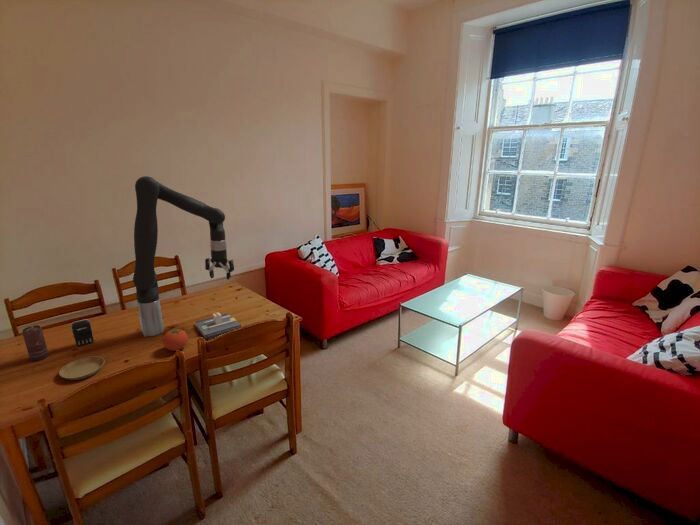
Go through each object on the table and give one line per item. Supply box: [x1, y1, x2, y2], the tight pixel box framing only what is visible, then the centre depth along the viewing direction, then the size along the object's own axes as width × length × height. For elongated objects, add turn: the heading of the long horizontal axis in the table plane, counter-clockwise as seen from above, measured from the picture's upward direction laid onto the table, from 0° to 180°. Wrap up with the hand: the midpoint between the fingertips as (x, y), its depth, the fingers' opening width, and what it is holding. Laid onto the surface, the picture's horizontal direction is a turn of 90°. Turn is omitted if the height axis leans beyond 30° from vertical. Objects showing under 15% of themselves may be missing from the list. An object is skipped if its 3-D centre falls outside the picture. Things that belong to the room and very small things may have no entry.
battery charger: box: [71, 318, 95, 347], centre depth 159 cm, size 7×4×11 cm, turn 130°
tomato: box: [162, 328, 189, 352], centre depth 157 cm, size 10×10×10 cm
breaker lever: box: [212, 311, 222, 325], centre depth 177 cm, size 3×4×5 cm
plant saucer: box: [58, 355, 105, 381], centre depth 141 cm, size 15×15×3 cm
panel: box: [194, 313, 242, 339], centre depth 178 cm, size 18×15×3 cm
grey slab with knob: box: [195, 313, 242, 341], centre depth 178 cm, size 16×19×2 cm
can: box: [21, 325, 49, 362], centre depth 147 cm, size 6×6×14 cm
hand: (220, 278), depth 181 cm, fingers open, 8 cm apart
